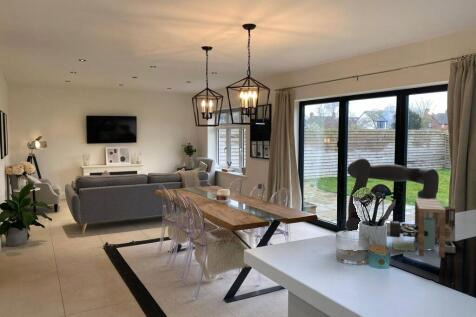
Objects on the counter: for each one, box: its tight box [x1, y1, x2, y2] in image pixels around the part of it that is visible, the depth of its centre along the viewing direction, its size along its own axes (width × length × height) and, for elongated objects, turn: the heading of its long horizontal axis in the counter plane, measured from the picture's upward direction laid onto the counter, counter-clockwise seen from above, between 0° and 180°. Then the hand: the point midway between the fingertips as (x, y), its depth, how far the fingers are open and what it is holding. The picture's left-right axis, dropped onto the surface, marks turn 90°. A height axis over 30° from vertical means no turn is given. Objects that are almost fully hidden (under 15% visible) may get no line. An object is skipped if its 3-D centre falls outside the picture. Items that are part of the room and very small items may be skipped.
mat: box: [392, 240, 416, 252], centre depth 171 cm, size 12×9×1 cm
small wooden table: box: [414, 198, 446, 258], centre depth 166 cm, size 23×10×21 cm, turn 158°
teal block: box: [424, 217, 436, 251], centre depth 166 cm, size 5×5×14 cm
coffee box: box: [431, 205, 456, 242], centre depth 179 cm, size 9×6×16 cm
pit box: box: [445, 241, 456, 255], centre depth 164 cm, size 9×4×3 cm, turn 158°
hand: (427, 231), depth 167 cm, fingers open, 8 cm apart
